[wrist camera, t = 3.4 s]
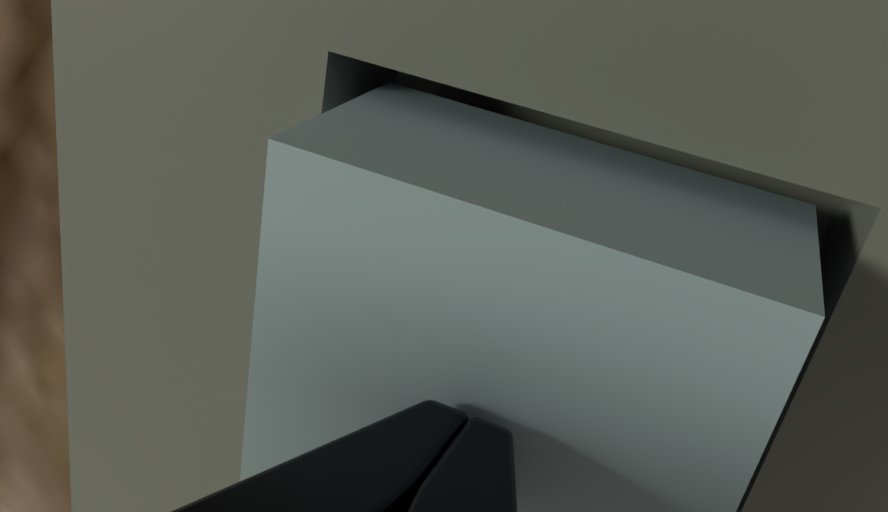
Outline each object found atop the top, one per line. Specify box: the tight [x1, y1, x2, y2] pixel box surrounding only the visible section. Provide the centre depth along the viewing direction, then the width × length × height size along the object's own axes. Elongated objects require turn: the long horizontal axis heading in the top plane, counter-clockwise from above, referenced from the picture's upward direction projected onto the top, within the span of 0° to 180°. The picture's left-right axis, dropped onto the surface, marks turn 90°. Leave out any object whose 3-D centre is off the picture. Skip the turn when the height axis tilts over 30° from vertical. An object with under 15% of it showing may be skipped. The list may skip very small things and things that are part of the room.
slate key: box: [240, 82, 825, 512], centre depth 9 cm, size 5×5×3 cm
